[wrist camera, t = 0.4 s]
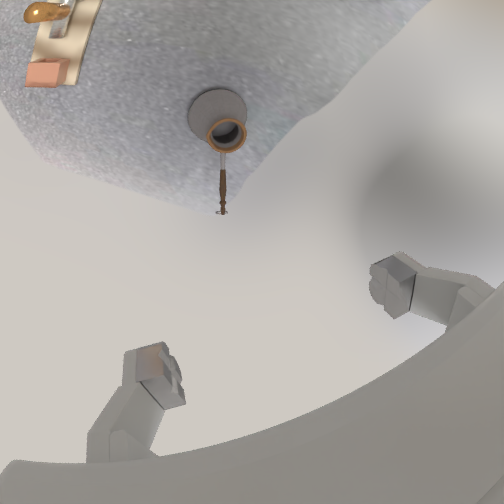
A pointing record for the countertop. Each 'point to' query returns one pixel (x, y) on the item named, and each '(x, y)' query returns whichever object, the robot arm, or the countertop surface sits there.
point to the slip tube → (51, 15)
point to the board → (68, 38)
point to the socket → (47, 72)
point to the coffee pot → (219, 126)
